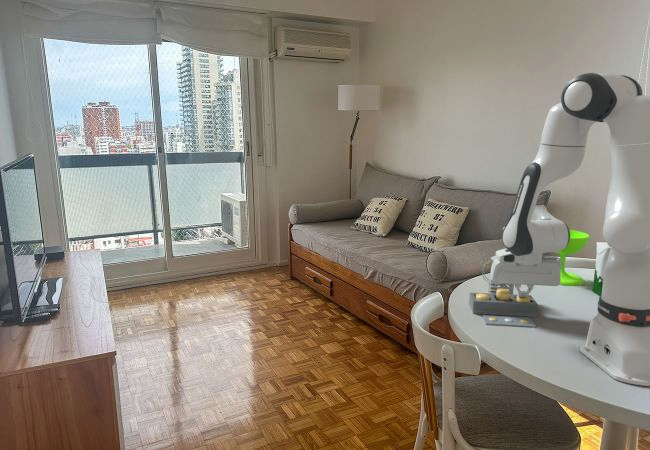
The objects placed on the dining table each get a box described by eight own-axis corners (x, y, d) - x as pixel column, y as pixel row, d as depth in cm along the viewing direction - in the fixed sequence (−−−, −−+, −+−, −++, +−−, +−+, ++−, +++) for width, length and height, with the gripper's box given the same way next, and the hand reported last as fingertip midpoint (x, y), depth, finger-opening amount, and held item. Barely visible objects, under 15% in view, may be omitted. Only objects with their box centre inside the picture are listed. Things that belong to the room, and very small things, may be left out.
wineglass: (580, 275, 179) (585, 230, 176) (588, 287, 164) (593, 239, 161) (536, 271, 184) (540, 228, 181) (539, 283, 170) (544, 236, 166)
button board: (545, 327, 131) (546, 315, 130) (477, 324, 134) (478, 311, 133) (529, 307, 147) (530, 295, 146) (469, 303, 150) (469, 292, 149)
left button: (489, 307, 143) (490, 298, 142) (476, 306, 143) (477, 297, 143) (487, 302, 147) (487, 293, 146) (474, 302, 147) (475, 293, 147)
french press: (511, 305, 148) (517, 231, 143) (476, 297, 155) (480, 226, 150) (519, 296, 156) (525, 225, 151) (485, 289, 163) (490, 221, 158)
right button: (531, 309, 141) (532, 300, 140) (517, 308, 141) (518, 299, 141) (527, 304, 145) (528, 295, 144) (514, 303, 145) (515, 294, 145)
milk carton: (600, 299, 153) (607, 241, 149) (587, 289, 162) (594, 235, 158) (627, 299, 153) (635, 242, 149) (613, 290, 161) (620, 236, 157)
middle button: (510, 302, 141) (511, 293, 141) (497, 301, 142) (498, 292, 141) (507, 297, 145) (508, 288, 145) (494, 297, 146) (495, 288, 145)
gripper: (559, 253, 141) (554, 295, 144) (490, 251, 144) (487, 292, 147) (566, 259, 135) (561, 302, 138) (494, 256, 138) (491, 299, 141)
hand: (522, 297), depth 142 cm, fingers closed
